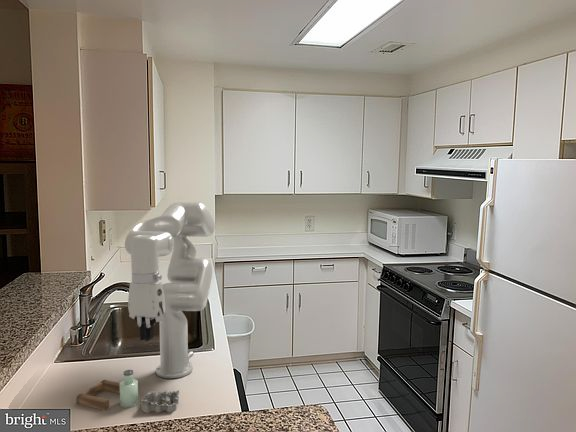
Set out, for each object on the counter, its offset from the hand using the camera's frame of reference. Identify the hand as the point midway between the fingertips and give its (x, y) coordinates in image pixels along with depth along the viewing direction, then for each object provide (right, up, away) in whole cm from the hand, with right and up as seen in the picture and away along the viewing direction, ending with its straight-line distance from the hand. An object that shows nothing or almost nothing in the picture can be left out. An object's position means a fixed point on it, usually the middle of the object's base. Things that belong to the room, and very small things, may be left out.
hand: (146, 338), depth 133 cm
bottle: (-7, -21, +4) cm, 22 cm away
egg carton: (+3, -21, +3) cm, 22 cm away
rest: (-15, -20, +7) cm, 26 cm away
